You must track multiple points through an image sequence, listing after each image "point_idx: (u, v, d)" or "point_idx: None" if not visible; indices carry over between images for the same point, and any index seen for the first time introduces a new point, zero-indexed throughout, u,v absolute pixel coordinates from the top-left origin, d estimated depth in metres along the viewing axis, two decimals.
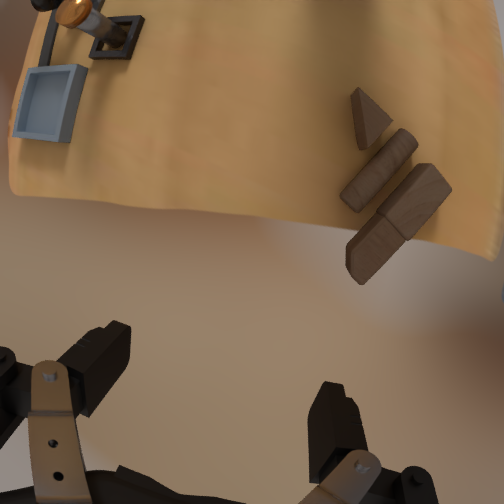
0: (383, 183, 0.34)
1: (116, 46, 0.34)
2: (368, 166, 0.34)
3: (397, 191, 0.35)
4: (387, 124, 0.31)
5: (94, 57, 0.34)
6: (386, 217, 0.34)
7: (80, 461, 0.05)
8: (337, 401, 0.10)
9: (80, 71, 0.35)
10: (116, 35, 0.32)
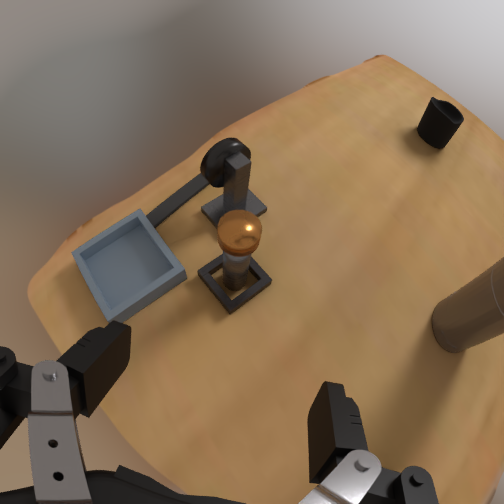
0: None
1: (228, 287, 0.41)
2: None
3: None
4: None
5: (202, 277, 0.41)
6: None
7: (80, 461, 0.05)
8: (337, 401, 0.10)
9: (180, 277, 0.40)
10: (239, 281, 0.39)
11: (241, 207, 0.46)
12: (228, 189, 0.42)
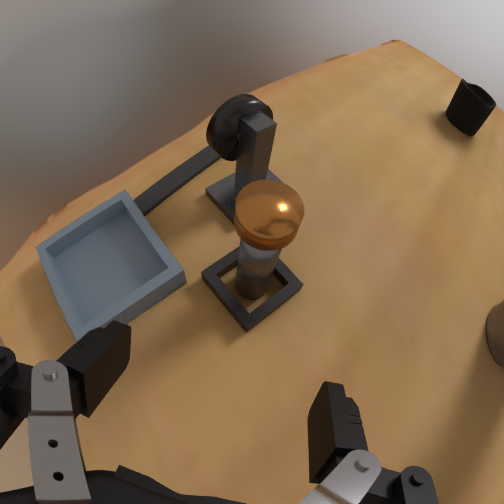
0: None
1: (243, 295, 0.30)
2: None
3: None
4: None
5: (207, 281, 0.30)
6: None
7: (80, 461, 0.05)
8: (337, 401, 0.10)
9: (177, 281, 0.29)
10: (260, 287, 0.28)
11: None
12: (243, 163, 0.31)
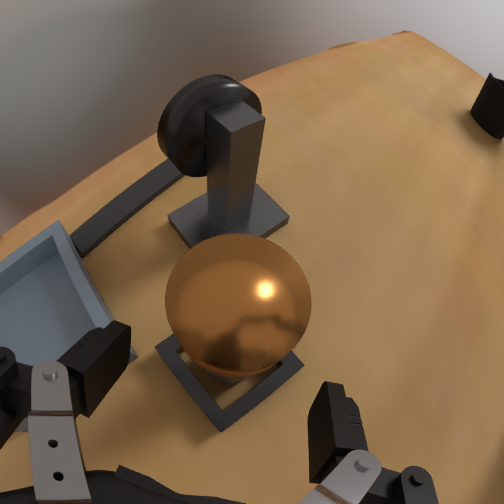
0: None
1: (216, 379, 0.19)
2: None
3: None
4: None
5: (164, 359, 0.19)
6: None
7: (80, 461, 0.05)
8: (337, 401, 0.10)
9: None
10: (239, 379, 0.17)
11: (242, 216, 0.24)
12: (216, 180, 0.20)
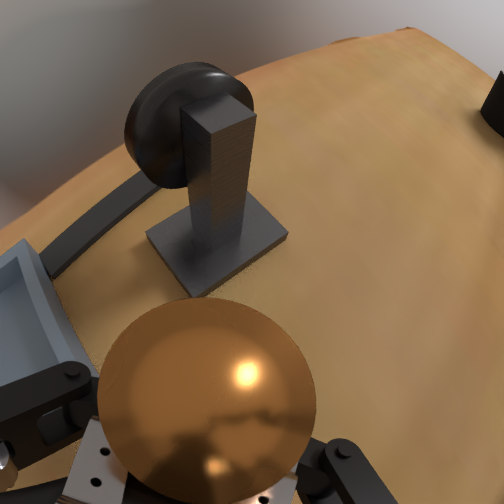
0: None
1: None
2: None
3: None
4: None
5: None
6: None
7: (126, 476, 0.05)
8: None
9: None
10: None
11: (232, 233, 0.20)
12: (197, 193, 0.17)
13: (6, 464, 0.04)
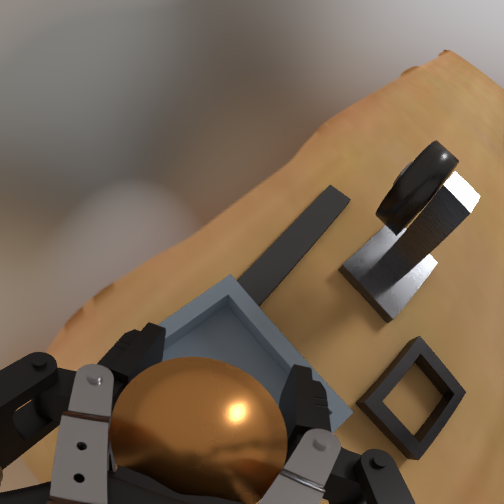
0: None
1: None
2: None
3: None
4: None
5: (370, 411, 0.18)
6: None
7: (106, 468, 0.05)
8: (303, 382, 0.10)
9: None
10: None
11: None
12: (416, 240, 0.20)
13: None
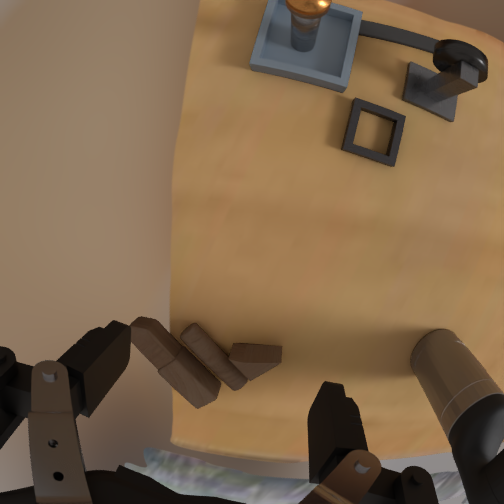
0: (202, 360, 0.44)
1: (290, 41, 0.33)
2: (216, 351, 0.44)
3: (197, 366, 0.46)
4: (247, 376, 0.42)
5: (353, 105, 0.34)
6: (175, 359, 0.43)
7: (80, 461, 0.05)
8: (337, 401, 0.10)
9: (338, 87, 0.33)
10: (297, 42, 0.30)
11: (437, 98, 0.32)
12: (441, 78, 0.27)
13: None
